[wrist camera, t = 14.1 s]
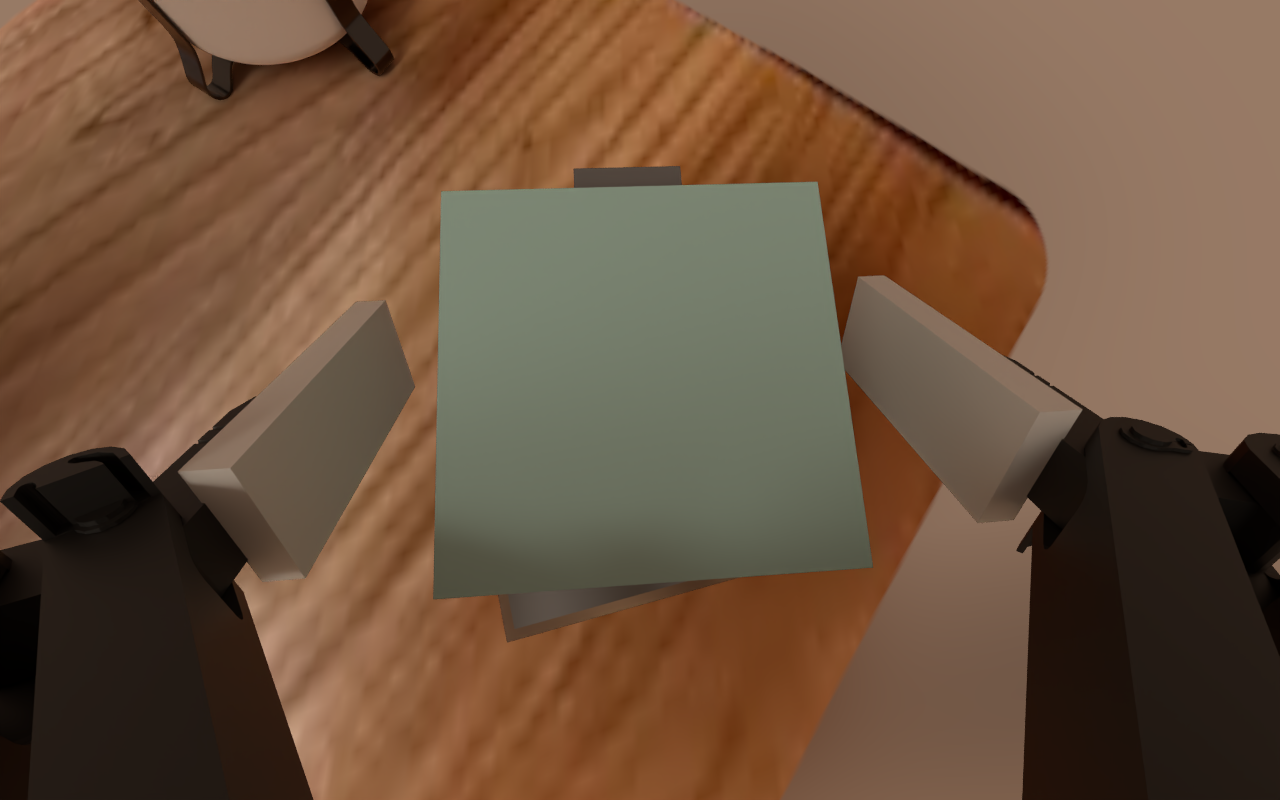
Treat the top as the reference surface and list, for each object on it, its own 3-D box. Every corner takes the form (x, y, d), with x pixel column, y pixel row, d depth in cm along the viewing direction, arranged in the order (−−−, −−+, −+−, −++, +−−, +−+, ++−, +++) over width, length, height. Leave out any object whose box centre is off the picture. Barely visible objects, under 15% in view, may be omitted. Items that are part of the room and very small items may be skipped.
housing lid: (507, 555, 12) (433, 599, 7) (505, 248, 14) (443, 114, 9) (773, 537, 13) (873, 567, 8) (741, 240, 14) (806, 108, 9)
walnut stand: (532, 607, 24) (504, 646, 18) (483, 362, 26) (443, 325, 20) (777, 540, 25) (827, 555, 19) (710, 311, 27) (736, 261, 21)
